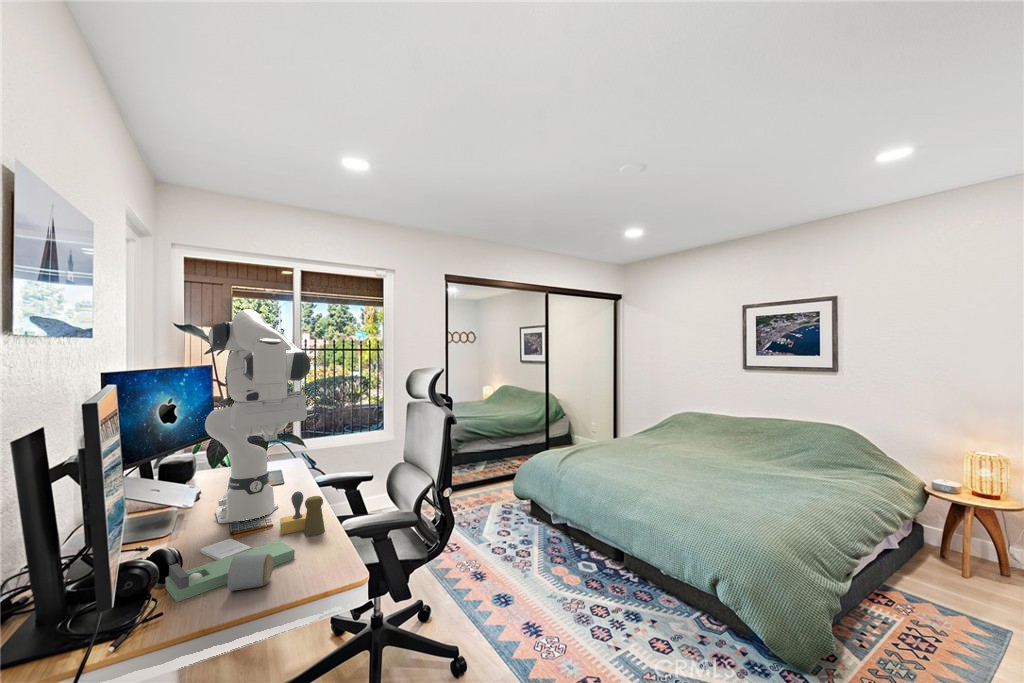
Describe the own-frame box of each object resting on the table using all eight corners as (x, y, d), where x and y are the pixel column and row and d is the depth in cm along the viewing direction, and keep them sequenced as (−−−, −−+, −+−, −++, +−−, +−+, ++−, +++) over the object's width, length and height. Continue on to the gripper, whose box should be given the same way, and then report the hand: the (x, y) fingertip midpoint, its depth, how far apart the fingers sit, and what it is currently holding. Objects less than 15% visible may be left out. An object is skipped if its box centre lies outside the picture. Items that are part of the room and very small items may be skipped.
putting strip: (165, 587, 103) (165, 566, 103) (279, 548, 123) (279, 531, 123) (176, 602, 96) (176, 579, 97) (294, 558, 116) (294, 540, 117)
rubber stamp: (280, 535, 133) (280, 496, 133) (280, 529, 138) (280, 491, 138) (315, 528, 138) (315, 491, 138) (313, 522, 143) (313, 486, 143)
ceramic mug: (266, 591, 100) (266, 557, 101) (226, 597, 98) (226, 563, 98) (277, 570, 110) (277, 540, 111) (241, 576, 108) (241, 545, 108)
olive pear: (316, 536, 131) (316, 500, 131) (299, 535, 132) (299, 499, 132) (328, 528, 137) (328, 494, 137) (312, 527, 138) (311, 493, 138)
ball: (185, 587, 103) (184, 574, 103) (201, 581, 105) (200, 568, 105) (188, 592, 101) (187, 579, 101) (204, 585, 103) (203, 572, 103)
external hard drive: (231, 543, 129) (252, 552, 123) (200, 554, 122) (220, 564, 116) (231, 537, 129) (252, 546, 123) (200, 548, 122) (220, 558, 116)
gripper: (301, 390, 136) (301, 433, 135) (227, 395, 120) (227, 445, 119) (310, 390, 132) (311, 435, 131) (235, 396, 116) (235, 447, 115)
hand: (270, 440), depth 125 cm, fingers closed
